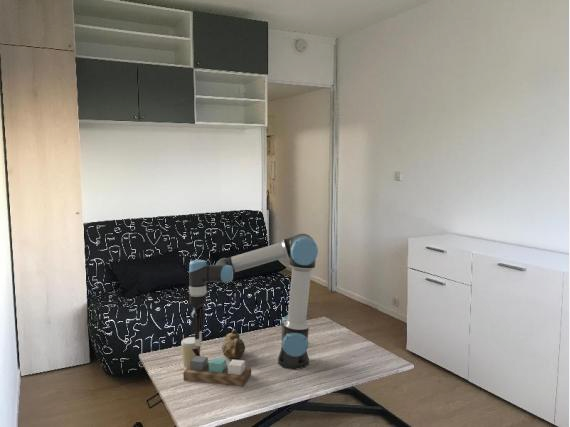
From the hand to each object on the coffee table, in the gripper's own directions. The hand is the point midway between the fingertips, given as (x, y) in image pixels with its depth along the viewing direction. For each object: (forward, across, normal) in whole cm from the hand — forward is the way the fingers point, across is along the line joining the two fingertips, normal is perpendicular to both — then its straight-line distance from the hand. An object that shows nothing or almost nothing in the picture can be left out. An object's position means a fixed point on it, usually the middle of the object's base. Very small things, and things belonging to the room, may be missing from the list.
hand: (198, 345), depth 214 cm
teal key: (+12, 0, +9) cm, 15 cm away
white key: (+11, 0, +18) cm, 22 cm away
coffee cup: (+15, -11, -9) cm, 20 cm away
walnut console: (+15, 0, +9) cm, 17 cm away
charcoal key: (+12, 0, 0) cm, 12 cm away
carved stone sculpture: (+15, -22, +9) cm, 28 cm away
